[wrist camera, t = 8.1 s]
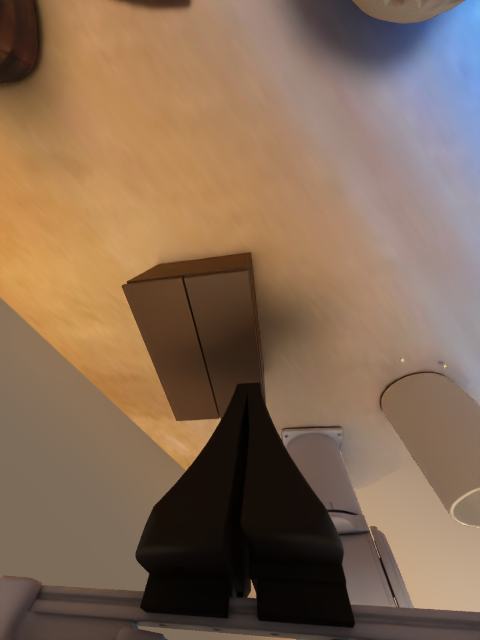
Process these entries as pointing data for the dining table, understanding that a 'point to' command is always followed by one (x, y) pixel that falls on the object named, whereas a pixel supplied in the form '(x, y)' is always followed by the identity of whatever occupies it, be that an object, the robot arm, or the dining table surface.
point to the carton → (221, 318)
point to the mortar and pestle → (17, 39)
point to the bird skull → (405, 9)
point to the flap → (174, 345)
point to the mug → (440, 438)
